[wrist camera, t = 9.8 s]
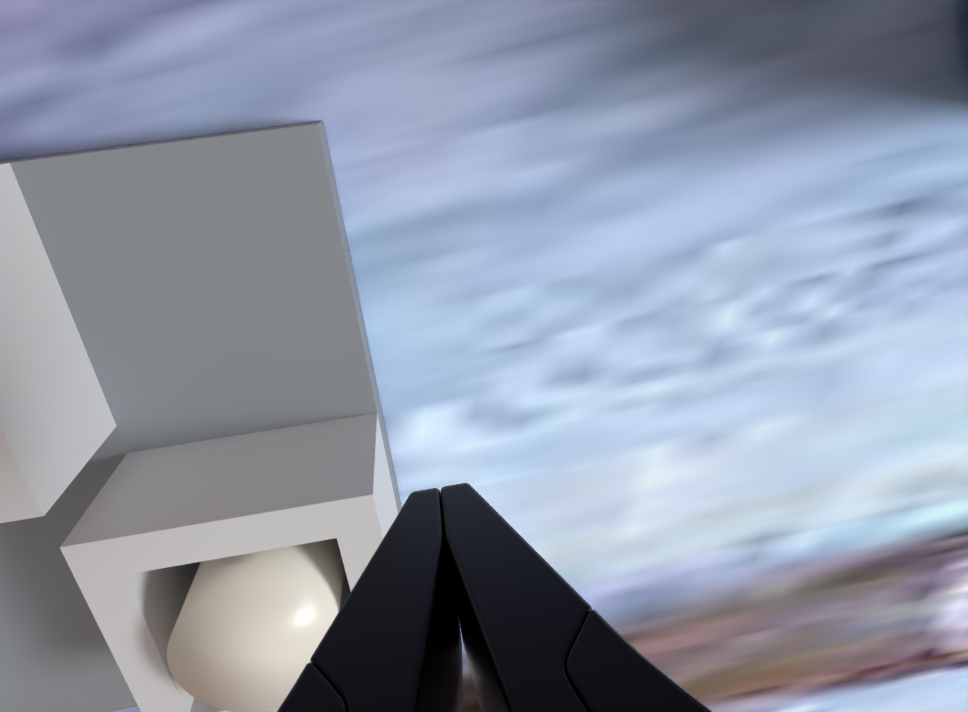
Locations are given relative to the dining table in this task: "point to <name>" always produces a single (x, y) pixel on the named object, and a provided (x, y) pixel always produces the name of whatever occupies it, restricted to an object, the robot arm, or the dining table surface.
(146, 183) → the panel
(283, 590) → the plug
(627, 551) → the dining table surface
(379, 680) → the robot arm
